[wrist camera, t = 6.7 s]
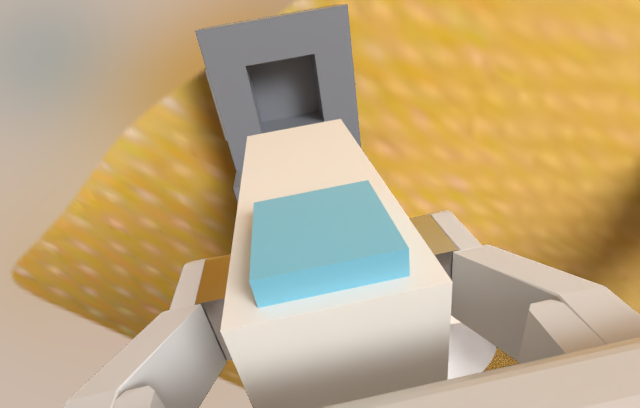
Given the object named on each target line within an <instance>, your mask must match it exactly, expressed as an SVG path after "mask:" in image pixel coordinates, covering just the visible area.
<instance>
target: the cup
mask: <svg viewBox="0 0 640 408" xmlns="http://www.w3.org/2000/svg"><path fill="white" fill-rule="evenodd" d="M495 352H496V346H494V345H493V344H492V343H490V342H489V341H487V340H486V339H484V338H483V337H481V336H480V335H479V334H477V333H476V332H474V331H473V330H471V329H470V328H468V327H467V326H466V325H464V324H463V323H461V322H460V321H458V320H457V319H455V318H454V317H452V316H451V322H450V341H449V360H448V379H453V378H457V377H462V376H466V375H471V374H475V373H480V372H482V371H483V370H485V368H486V367H487V366H488V365H489V364H490V362H491V361H492V359H493V357H494V355H495ZM448 379H447V380H448Z"/></svg>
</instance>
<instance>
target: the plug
mask: <svg viewBox="0 0 640 408" xmlns="http://www.w3.org/2000/svg"><path fill="white" fill-rule="evenodd" d="M452 284H453V282H452V280H451V279H450V277H449V276H448V274H447V273H446V271H445V270H444V269H443V267H442V266H441V264H440V263H439V261H438V260H437V258H436V257H435V255H434V254H433V252H432V251H431V250H430V248H429V247H428V245H427V244H426V242H425V241H424V239H423V238H422V236H421V235H420V234H419V232H418V231H417V229H416V228H415V226H414V225H413V223H412V222H411V220H410V219H409V218H408V216H407V215H406V213H405V212H404V210H403V209H402V207H401V206H400V204H399V203H398V202H397V200H396V199H395V197H394V196H393V194H392V193H391V191H390V190H389V188H388V187H387V185H386V184H385V183H384V181H383V180H382V178H381V177H380V175H379V174H378V172H377V171H376V169H375V168H374V167H373V165H372V164H371V162H370V161H369V159H368V158H367V156H366V155H365V153H364V152H363V151H362V149H361V148H360V146H359V145H358V143H357V142H356V140H355V139H354V137H353V136H352V135H351V133H350V132H349V130H348V129H347V127H346V126H345V124H344V123H343V121H342V120H341V119H337V120H331V121H326V122H321V123H315V124H310V125H305V126H300V127H294V128H289V129H284V130H278V131H273V132H268V133H262V134H257V135H252V136H247V142H246V149H245V156H244V164H243V171H242V178H241V185H240V193H239V200H238V207H237V214H236V221H235V229H234V236H233V243H232V250H231V258H230V265H229V272H228V279H227V286H226V294H225V301H224V308H223V315H222V322H221V330H220V332H221V334H222V336H223V339H224V341H225V344H226V346H227V348H228V351H229V353H230V355H231V358H232V360H233V362H234V365H235V367H236V369H237V372H238V374H239V376H240V379H241V381H242V383H243V386H244V388H245V390H246V393H247V395H248V397H249V400H250V402H251V404H252V407H253V408H322V407H326V406H331V405H335V404H340V403H344V402H349V401H354V400H358V399H363V398H367V397H372V396H376V395H381V394H385V393H390V392H394V391H399V390H403V389H408V388H412V387H417V386H421V385H426V384H430V383H435V382H439V381H444V380H447V379H448V360H449V341H450V322H451V303H452Z"/></svg>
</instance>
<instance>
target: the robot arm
mask: <svg viewBox="0 0 640 408" xmlns="http://www.w3.org/2000/svg"><path fill="white" fill-rule="evenodd" d="M409 219H410V220H411V222H412V223H413V225H414V226H415V228H416V229H417V231H418V232H419V234H420V235H421V236H422V238H423V239H424V241H425V242H426V244H427V245H428V247H429V248H430V250H431V251H432V252H433V254H434V255H435V257H436V258H437V260H438V261H439V263H440V264H441V266H442V267H443V269H444V270H445V271H446V273H447V274H448V276H449V277H450V279H451V280H452V282H453V284H452V303H451V316H452V317H454V318H455V319H457V320H458V321H460V322H461V323H463V324H464V325H466V326H467V327H468V328H470V329H471V330H473V331H474V332H476V333H477V334H479V335H480V336H481V337H483V338H484V339H486V340H487V341H489V342H490V343H492V344H493V345H494V346H496V347H497V348H499V349H500V350H502V351H503V352H505V353H506V354H508V355H509V356H510V357H512V358H513V359H515V360H516V361H518V364H516V365H511V366H507V367H502V368H498V369H493V370H489V371H484V372H480V373H475V374H471V375H466V376H462V377H457V378H453V379H448V380H444V381H439V382H435V383H430V384H426V385H421V386H417V387H412V388H408V389H403V390H399V391H394V392H390V393H385V394H381V395H376V396H372V397H367V398H363V399H358V400H354V401H349V402H344V403H340V404H335V405H331V406H326V407H322V408H640V315H639V314H638V313H637V312H636V311H635V310H633V309H632V308H631V307H630V306H629V305H627V304H626V303H625V302H624V301H622V300H621V299H620V298H619V297H618V296H616V295H615V294H614V293H613V292H612V291H610V290H609V289H608V288H607V287H605V286H603V285H600V284H597V283H594V282H592V281H589V280H586V279H583V278H581V277H578V276H575V275H572V274H569V273H567V272H564V271H561V270H558V269H555V268H553V267H550V266H547V265H544V264H542V263H539V262H536V261H533V260H530V259H528V258H525V257H522V256H519V255H516V254H514V253H511V252H508V251H505V250H503V249H500V248H497V247H494V246H491V245H484V246H482V245H481V244H480V242H479V241H478V240H477V239H476V238H475V237H474V236H473V235H472V234H471V233H470V232H469V231H468V229H467V228H466V227H465V226H464V225H463V224H462V223H461V222H460V221H459V220H458V219H457V218H456V217H455V215H454V214H453V213H452V212H451V211H449V210H443V211H439V212H435V213H430V214H427V215H423V216H419V217H414V218H409ZM230 258H231V254H227V255H222V256H216V257H210V258H207V259H206V258H205V259H200V260H195V261H190V262H187V263H186V264H184V266H183V269H182V272H181V275H180V278H179V281H178V284H177V287H176V290H175V293H174V296H173V300H172V303H171V306H170V309H169V310H168V311H164V312H162V313H161V314H160V315H158V316H157V317H156V318H155V319H154V320H153V321H152V322H151V323H150V324H149V325H148V326H147V327H146V328H144V329H143V330H142V331H141V332H140V333H139V334H138V335H137V336H136V337H135V338H134V339H133V340H132V341H131V342H129V343H128V344H127V345H126V346H125V347H124V348H123V349H122V350H121V351H120V352H119V353H117V354H116V355H115V356H114V357H113V358H112V359H111V360H110V361H109V362H108V363H107V364H106V365H105V366H103V368H102V369H100V370H99V371H98V372H97V373H96V374H95V375H94V376H93V377H92V378H91V379H89V380H88V381H87V382H86V383H85V384H84V385H83V386H82V387H81V388H80V389H79V390H78V391H77V392H76V393H74V394H73V395H72V396H71V397H70V398H69V399H68V400H67V401H66V403H65V405H64V406H63V408H199V406H200V405H201V403H202V401H203V400H204V398H205V397H206V395H207V394H208V392H209V390H210V389H211V387H212V385H213V384H214V382H215V381H216V379H217V377H218V376H219V374H220V373H221V371H222V369H223V368H224V366H225V365H226V361H227V360H231V359H232V358H231V355H230V353H229V351H228V348H227V346H226V344H225V341H224V339H223V336H222V334H221V332H220V330H221V322H222V315H223V308H224V301H225V294H226V286H227V279H228V272H229V265H230Z"/></svg>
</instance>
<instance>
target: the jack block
mask: <svg viewBox="0 0 640 408" xmlns="http://www.w3.org/2000/svg"><path fill="white" fill-rule="evenodd" d="M195 32H196V35H197V39H198V42H199V46H200V49H201V53H202V56H203V59H204V63H205V66H206V68H205V73H206V76H207V80H208V83H209V86H210V90H211V93H212V96H213V100H214V103H215V106H216V110H217V113H218V117H219V120H220V123H221V127H222V130H223V133H224V137H225V140H226V141H228V145H229V148H230V151H231V155H232V158H233V162H234V165H235V168H236V176H235V181H234V186H233V189H234V193H235V196H236V199H237V202H238V200H239V193H240V185H241V178H242V171H243V164H244V156H245V149H246V142H247V136H252V135H257V134H262V133H268V132H273V131H278V130H284V129H289V128H294V127H300V126H305V125H310V124H315V123H321V122H326V121H331V120H337V119H341V120H342V121H343V123H344V124H345V126H346V127H347V129H348V130H349V132H350V133H351V135H352V136H353V137H354V139H355V140H356V142H357V143H358V145H359V146H360V148H361V142H360V132H359V121H358V110H357V100H356V89H355V79H354V68H353V58H352V47H351V37H350V26H349V15H348V5H347V4H346V5H333V6H327V7H321V8H316V9H310V10H304V11H298V12H292V13H287V14H281V15H275V16H270V17H264V18H258V19H252V20H247V21H240V22H234V23H229V24H223V25H217V26H212V27H206V28H202V29H199V30H196V31H195ZM361 149H362V148H361ZM362 151H363V150H362ZM363 152H364V151H363ZM365 155H366V154H365ZM367 158H368V157H367ZM369 161H370V160H369Z"/></svg>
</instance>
